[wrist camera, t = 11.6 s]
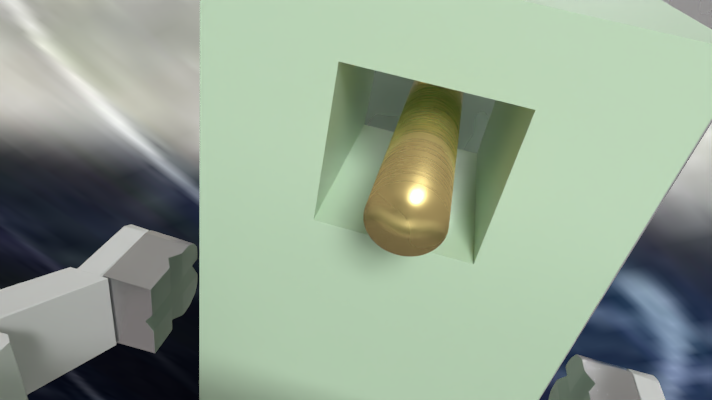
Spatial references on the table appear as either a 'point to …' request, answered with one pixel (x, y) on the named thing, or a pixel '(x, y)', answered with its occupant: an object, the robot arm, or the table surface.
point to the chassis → (437, 155)
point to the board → (469, 199)
